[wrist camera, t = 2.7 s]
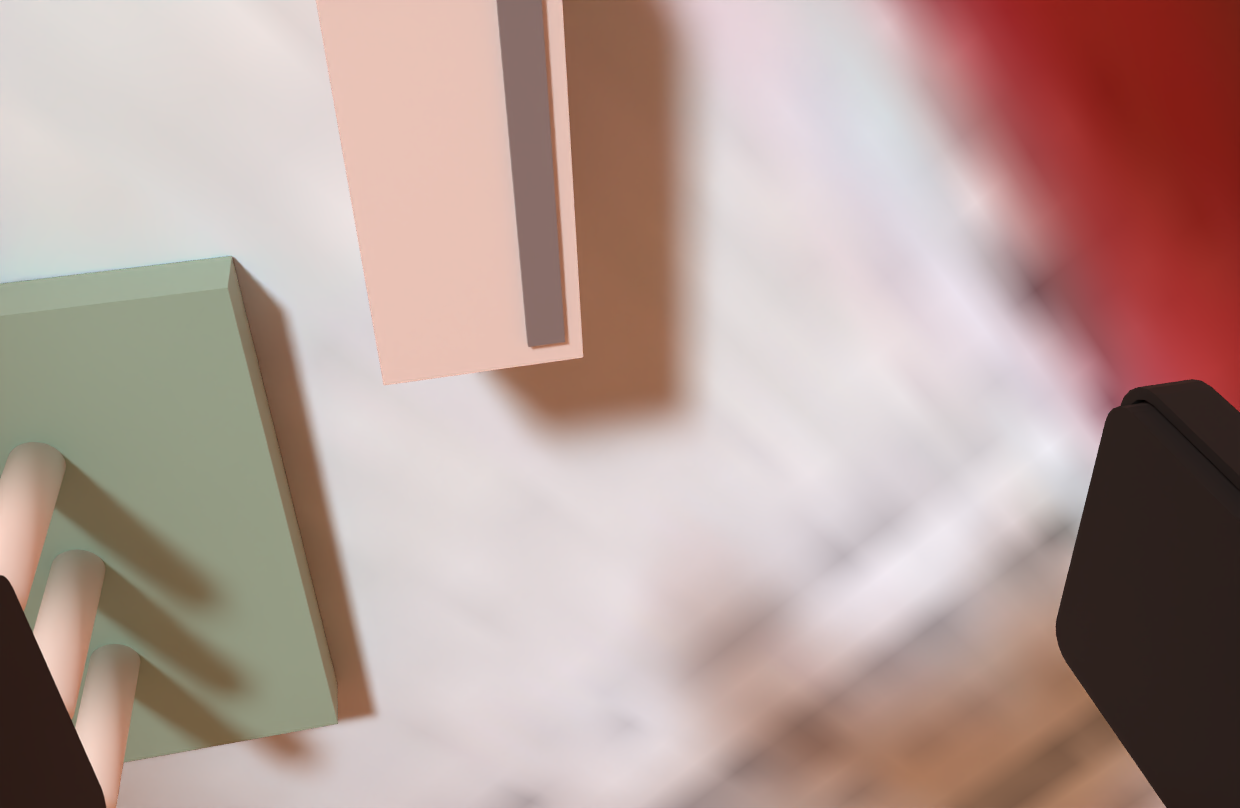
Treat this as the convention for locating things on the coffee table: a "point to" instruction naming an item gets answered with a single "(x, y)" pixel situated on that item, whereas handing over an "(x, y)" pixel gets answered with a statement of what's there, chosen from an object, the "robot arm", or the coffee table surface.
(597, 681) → the coffee table surface
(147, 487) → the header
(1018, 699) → the coffee table surface
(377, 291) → the block
